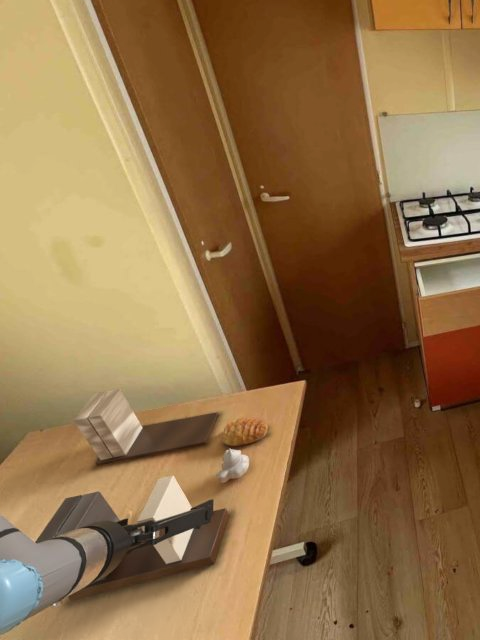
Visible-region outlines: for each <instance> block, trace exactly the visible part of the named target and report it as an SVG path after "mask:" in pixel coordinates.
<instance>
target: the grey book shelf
mask: <svg viewBox="0 0 480 640" xmlns="http://www.w3.org/2000/svg"><path fill="white" fill-rule="evenodd" d="M230 517H231V514H230V513H229V511H228V509H227V507H224V508H220V509H216V510H215V509H214V510H213V516H211V522H209V523H207V524H203V525H201V528H200V529H195V528H194V529H193V531H192V534H191V536H190V539H189V541H188V544H187V547H186V549H185V552H184V554H183V557H182V559H181V560H180V561H176V562H172V563H168V564H166V563H165V561H164V560H163V558H162V557H161V556H160V554H159V553H158V551H157V550H156V548H155V547H154V545H147V546H145V547H142V548H139V549H136V550H133V551H132V552H131V553H129V554H127V555H125V556H124V557H123V559H122V560H121V562H120V563H119V565H118V566H117V567H116V568H115V569H114V570H113V571H112V572H111V573H109V574H108V575H106V576H105V577H103V578H101V579H99V580H98V581H96V582H94V583H92V584H90V585H89V586H87V587H84V588H82V589H80V590H79V591H77V592H75V593H73V594H71V595H69V596H67V598H69V599H70V601H71V602H72V601H77V600H80V599H85V598H88V597H93V596H96V595H97V596H98V595H101V594H104V593H107V592H113V591H115V590H116V591H117V590H119V589H123V588H127V587H131V586H135V585H138V584H143V583H146V582H150V581H154V580H158V579H162V578H165V577H169V576H173V575H177V574H178V575H179V574H181V573H186V572H189V571H193V570H197V569H200V568H205V567H209V566H213V565H215V563H216V560H217V557H218V553H219V550H220V547H221V544H222V541H223V538H224V534H225V531H226V529H227V525H228V523H229V519H230ZM120 520H121V519H120V518H119V517H118V515H117V513H116V512H115V511H114V509H113V508H112V507H111V505H110V504H109V502H108V501H107V500H106V499H105V497H104V496H103V494H102V492H100V491H99V490H98V491H93V492H88V493H84V494H79V495H75V496H69V497H65V498H64V500H63V501H62V502H61V504H60V506H59V507H58V508H57V510H56V511H55V513H54V514H53V516H52V517H51V518H50V519H49V521H48V523H47V524H46V526H45V527H44V529H43V530H42V531H41V533H40V534H39V536H38V537H37V539H36V540H35V541H34V542H35V543H40V542H43V541H46V540H49V539H51V538H53V537H56V536H59V535H61V534H64V533H66V532H69V531H72V530H75V529H78V528H81V527H84V526H86V525H89V524H92V523H95V522H98V521H113V522H118V521H120ZM139 529H141V530H142V528H141V527H139ZM143 533H144V531H143Z"/></svg>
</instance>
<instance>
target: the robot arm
mask: <svg viewBox="0 0 480 640" xmlns="http://www.w3.org/2000/svg"><path fill="white" fill-rule="evenodd" d="M213 511H214V498H212V499H208V500H206V501H204V502H202V503H200V504H198V505H196V506H192V508H191V509H190V511H187V512H183V513H180V514H177V515H174V516H171V517H167V518H164V519H161V520H158V521H155V522H154V521H153V520H147V521H144V522H140V523H138V522H137V523H135V524H129V518H123V519H120V521H118V522H113V521H98V522H95V523H92V524H89V525H86V526H84V527H81V528H78V529H75V530H72V531H69V532H66V533H64V534H61V535H59V536H56V537H53V538H51V539H49V540H46V541H43V542H40V543H35V542H36V541H34V540H33V539H32V538H31V537H30V536H28V535H27V534H26V533H24V532H23V531H21V530H20V529H19V528H17V527H16V526H15V525H14V524H13V523H12V522H11V521H10V520H8V519H7V518H6V517H4V516H3V514H1V513H0V636H1V635H4V634H6V633H8V632H10V631H11V630H13V629H14V628H16V627H18V626H19V625H20V624H22V623H23V622H25V621H27V620H28V619H30V618H32V617H33V616H35V615H37V614H39V613H41V612H43V611H45V610H46V609H48V608H49V607H51V608H52V609H54V608H58V607H59V606H61V605H62V604H63V600H64V599H66V598H68V596H69V595H71V594H73V593H75V592H77V591H79V590H80V589H82V588H84V587H87V586H89V585H90V584H92V583H94V582H96V581H98V580H99V579H101V578H103V577H105V576H106V575H108V574H109V573H111V572H112V571H113V570H114V569H115V568H116V567H117V566H118V565H119V563H120V562H121V560H122V559H123V557H124V556H125V555H127V554H129V553H131V552H132V551H133V550H136V549H139V548H142V547H145V546H147V545H156V544H157V543H159V542H161V541H163V540H165V539H167V538H170V537H173V536H175V535H178V534H180V533H183V532H185V531H188V530H191V529H193V528H195V529H200V528H201V525H203V524H207V523H209V522H211V516H213ZM142 526H145V530H144V533H143V530H141V529H139V528H141V527H142Z"/></svg>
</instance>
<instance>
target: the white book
mask: <svg viewBox="0 0 480 640" xmlns="http://www.w3.org/2000/svg"><path fill="white" fill-rule="evenodd" d="M191 508H193V506H192V505H191V503H190V502H189V500H188V498H187V496H186V494H185V493H184V491H183V489H182V488H181V486H180V484H179V483H178V481H177V479H176V477H175V476H174V475H169V476H165V477H160V478H158V479H157V481H156V483H155V485H154V487H153V489H152V491H151V492H150V495H149V497H148V498H147V501H146V503H145V505H144V506H143V508H142V510H141V512H140V514H139V516H138V518H137V520H136V522H137V523H140V522H144V521H147V520H153V521H154V522H155V521H158V520H161V519H164V518H167V517H171V516H174V515H177V514H180V513H183V512H187V511H190V509H191ZM140 528H142V530H143V531H144V530H145V526H142V527H140ZM193 529H194V528H193ZM193 529H191V530H188V531H185V532H183V533H180V534H178V535H175V536H173V537H170V538H167V539H165V540H163V541H161V542H159V543H157V544H156V545H154V547H155V548H156V550H157V551H158V553H159V554H160V556H161V557H162V558H163V560H164V561H165V563H166V564H168V563H172V562H176V561H180V560H181V559H182V557H183V554H184V552H185V549H186V547H187V544H188V541H189V539H190V536H191V534H192V531H193Z"/></svg>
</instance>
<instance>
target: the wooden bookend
mask: <svg viewBox="0 0 480 640" xmlns="http://www.w3.org/2000/svg"><path fill="white" fill-rule="evenodd" d="M218 417H219V412H218V411H216V412H211V413H206V414H201V415H200V414H199V415H195V416H190V417H184V418H183V417H182V418H178V419H173V420H168V421H163V422H158V423H157V422H156V423H151V424H147V425H142V423H141V422H140V420H139V419H138V418H137V415H136V414H135V412H134V410H133V408H132V407H131V405H130V404H129V401H128V400H127V398H126V397H125V395H124V393H123V391H122V390H121V388H120V389H114V390H113V389H112V390H108V391H102V392H96V393H94V394H93V395H92V396H91V398H90V399H89V400H88V401H87V403H85V405H84V407H82V409H81V410H80V411H79V412H78V413H77V415H76V416H75V417H74V418H73V420H72V421H73V423H75V425H76V426H77V428H78V430H79V431H80V433H81V434H82V435H83V437H84V438H85V440H86V441H87V442H88V444H89V446H90V447H91V448H92V451H94V453H95V455H96V456H97V457H98V459H97V460H96V461H95V465H96V467H100V466H105V465H111V464H115V463H121V462H125V461H130V460H131V461H132V460H135V459H140V458H146V457H151V456H155V455H161V454H165V453H170V452H176V451H180V450H181V451H182V450H185V449H191V448H195V447H201V446H206V444H207V442H208V440H209V438H210V435H211V434H212V431H213V430H214V427H215V424H216V422H217V420H218Z"/></svg>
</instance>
